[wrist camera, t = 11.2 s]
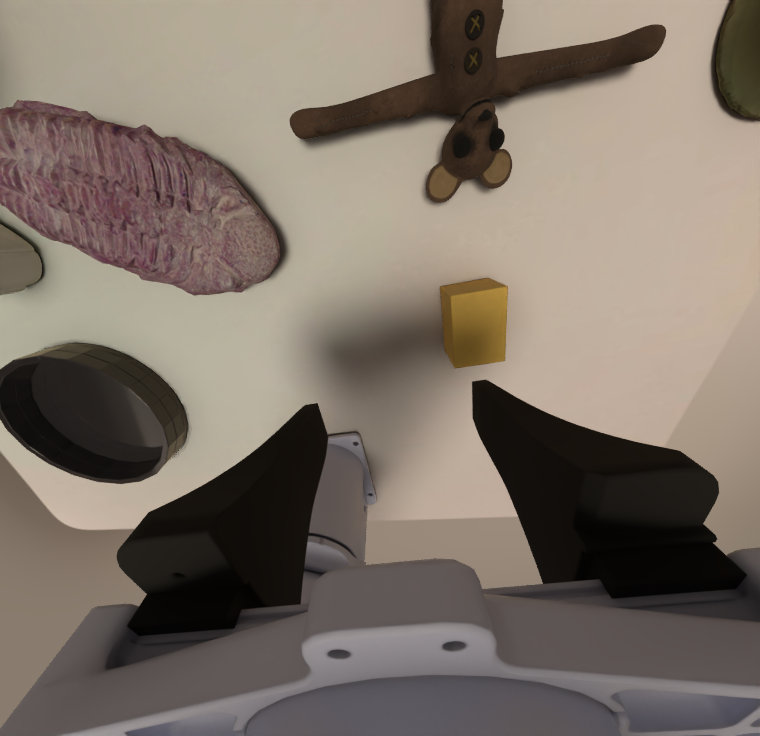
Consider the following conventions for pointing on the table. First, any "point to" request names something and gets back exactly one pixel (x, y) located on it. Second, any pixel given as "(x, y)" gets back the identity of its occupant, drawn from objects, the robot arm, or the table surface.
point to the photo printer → (17, 263)
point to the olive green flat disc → (740, 57)
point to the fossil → (133, 199)
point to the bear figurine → (474, 89)
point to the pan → (92, 412)
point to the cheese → (474, 322)
